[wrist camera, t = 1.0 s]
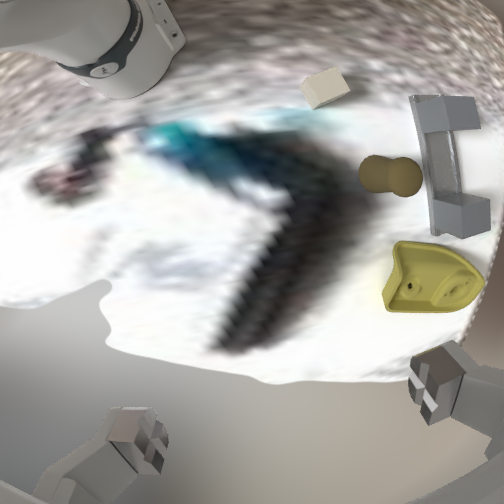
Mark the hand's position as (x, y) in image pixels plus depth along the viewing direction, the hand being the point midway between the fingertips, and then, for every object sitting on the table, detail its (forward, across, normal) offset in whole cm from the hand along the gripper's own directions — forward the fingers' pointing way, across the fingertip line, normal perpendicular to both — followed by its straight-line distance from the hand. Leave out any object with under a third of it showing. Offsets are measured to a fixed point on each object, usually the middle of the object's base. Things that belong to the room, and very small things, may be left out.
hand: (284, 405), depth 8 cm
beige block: (+37, -13, -16) cm, 43 cm away
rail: (+37, -33, -3) cm, 50 cm away
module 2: (+36, -33, +5) cm, 49 cm away
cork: (+37, -20, -2) cm, 42 cm away
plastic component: (+38, -28, +18) cm, 50 cm away
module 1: (+36, -33, -11) cm, 49 cm away
